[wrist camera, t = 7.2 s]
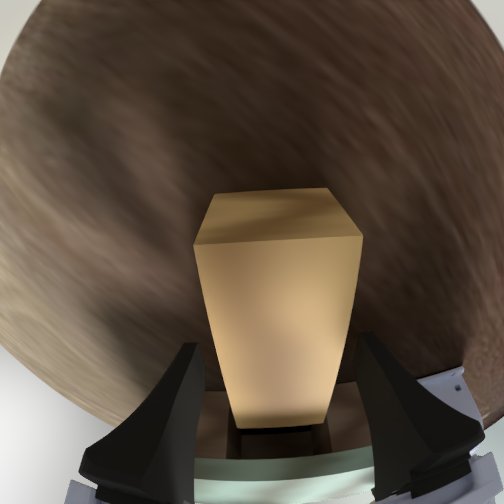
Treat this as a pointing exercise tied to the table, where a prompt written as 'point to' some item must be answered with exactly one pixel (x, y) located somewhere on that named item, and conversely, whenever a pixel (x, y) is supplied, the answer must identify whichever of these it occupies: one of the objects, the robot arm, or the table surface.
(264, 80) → the table surface
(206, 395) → the socket shed
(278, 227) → the peg
